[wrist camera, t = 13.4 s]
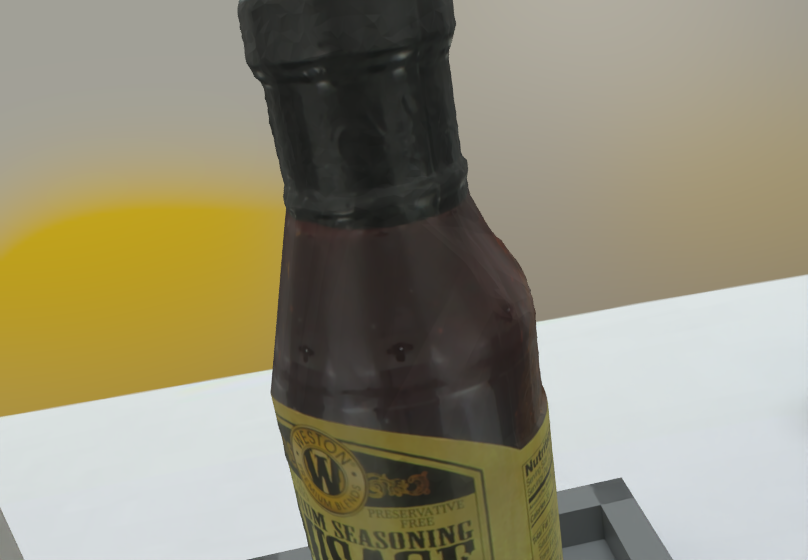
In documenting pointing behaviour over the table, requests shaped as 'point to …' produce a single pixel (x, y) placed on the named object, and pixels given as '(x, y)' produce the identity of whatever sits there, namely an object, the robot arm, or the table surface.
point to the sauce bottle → (395, 299)
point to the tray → (586, 526)
